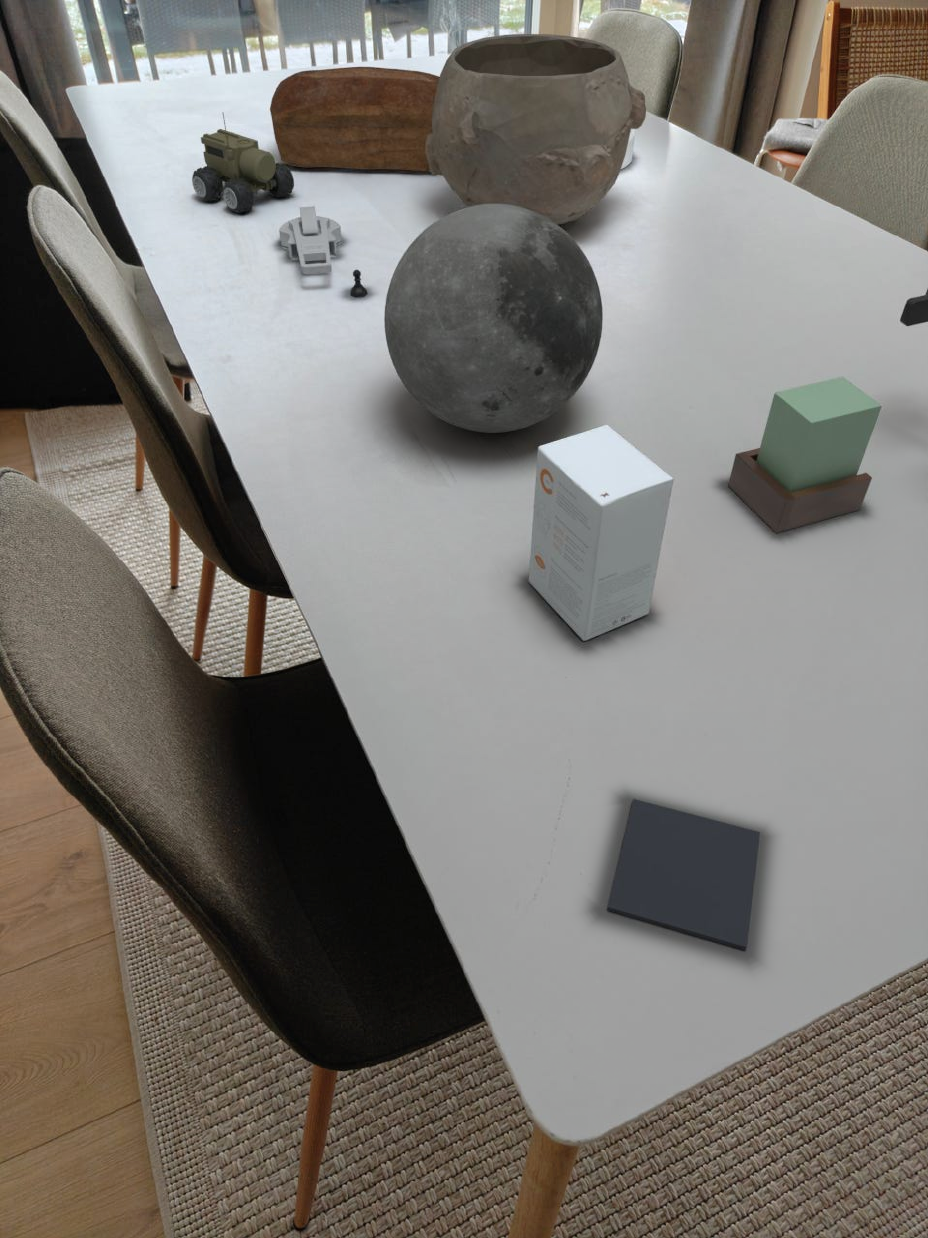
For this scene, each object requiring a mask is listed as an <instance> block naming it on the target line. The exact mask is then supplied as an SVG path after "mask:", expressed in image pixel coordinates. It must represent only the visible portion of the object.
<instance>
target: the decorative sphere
mask: <svg viewBox="0 0 928 1238" xmlns="http://www.w3.org/2000/svg"><path fill="white" fill-rule="evenodd" d="M602 302H603V301H602V295H601V290H600V286H599V283H598V279H597V276H596V274H595V271H594V269H593V267H592V265H591V263H590V261H589V259H588V257H587V256H586V254H585V252H584V251H583V250H582V248H581V247H580V246H579V244H578V243H577V241H575V240H574V239H573V237H572V236H571V235H570V234H569V233H568V232H567V231H566V230H564V229H563V228H562V227H561V226H560V225H557V224H556V223H554V222H553V221H551V220H550V219H548V218H546V217H544V216H543V215H541V214H539V213H536V212H534V211H531V210H529V209H526V208H522V207H518V206H514V205H507V204H482V205H475V206H471V207H467V206H466V207H464V208H463V207H462V208H460V209H457V210H455V211H453V212H451V213H448V214H446V215H445V216H443V217H441V218H439V219H438V220H435V221H434V222H433V223H432V224H430V225H429V226H427V227H426V228H425V229H424V230H423V231H422V232H421V233H420V234H419V235H418V236H417V237H416V238H415V239H414V240H413V241H412V242H411V243H410V244H409V246H408V247H407V249H406V250H405V251H404V252H403V255H402V256H401V258H400V259H399V261H398V263H397V265H396V266H395V269H394V272H393V274H392V276H391V279H390V282H389V285H388V289H387V293H386V297H385V305H384V316H383V318H384V319H383V320H384V335H385V341H386V346H387V351H388V354H389V357H390V360H391V363H392V365H393V367H394V370H395V371H396V374H397V375H398V377H399V379H400V381H401V383H402V384H403V386H404V387H405V388H406V390H407V391H408V392H409V393H410V395H411V396H412V397H413V399H415V400H416V402H418V403H419V404H420V405H421V406H422V407H423V408H424V409H425V410H427V411H428V412H429V413H431V414H432V415H433V416H435V417H437V418H438V419H439V420H441V421H444V423H448V425H452V426H454V427H457V428H460V429H462V430H463V429H464V430H467V431H471V432H475V433H476V432H477V433H484V434H485V433H486V434H497V433H498V434H499V433H507V432H508V433H509V432H513V431H518V430H522V429H525V428H528V427H531V426H533V425H536V424H538V423H540V422H542V421H544V420H545V419H548V418H549V417H550V416H552V415H553V414H555V413H556V412H558V411H559V410H560V409H562V408H563V406H565V405H566V404H567V403H569V401H570V400H571V399H572V398H573V397H574V395H576V393H577V392H578V391H579V389H580V388H581V386H582V385H584V382H585V380H586V379H587V377H588V376H589V374H590V372H591V370H592V368H593V366H594V363H595V360H596V358H597V355H598V353H599V352H598V351H599V350H600V349H599V348H600V344H601V340H602V339H601V338H602V334H603V333H602V332H603V320H604V319H603V317H604V316H603V315H604V314H603V303H602Z"/></svg>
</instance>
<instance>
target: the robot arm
mask: <svg viewBox="0 0 928 1238" xmlns="http://www.w3.org/2000/svg"><path fill="white" fill-rule="evenodd" d="M899 321H900V323H901V324H903V325H904V326H906V327H910V326H915V325H920V324H924V323H928V288H927V289H926V292H925V294H924V295H918V296H913V297H910V298H908V299H907V300H906V302H905V305H904V307H903V310H902V312H901V315H900V318H899Z"/></svg>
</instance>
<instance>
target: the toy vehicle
mask: <svg viewBox="0 0 928 1238" xmlns="http://www.w3.org/2000/svg"><path fill="white" fill-rule="evenodd" d="M222 117H223V124H224V129H222V128H219V129H217V131H216V132H213V133H210V134H209V133H203V134H202V136H201V137H200V142H201V144H203V146H204V151H203V153H202V154H203V159H204V162H205V165H206V166H205V165H204V166H203V167H198V168H196V170H194V171H193V174H192V177H191V181H192V187H193V189H194V192H195V193H196V195H197V196H198V198H200V199H201V200H203V201H205V202H207V203H211V202H212V201H216V200H219V198H221V197H222V195H223V199H224V202H225V204H226V205H227V207H228V208H229V209H230V210H231V211H232V212H233V213H238V214H240V215H241V214H242V213H246V212H248V211H249V210H252V209H253V206H254V204H255V195H257V194H258V191H260V190H262V191H263V192H266V191H268V192H269V194H270V195H272V196H273V197H274V198H275V197H276V198H278V199H282V197H287V196H289V194H292V193H293V190H294V187H295V179H294V175H293V173H292V171H291V169H290V168H289V167H288V166H287V165H286V164H285V163H280V162H276V158H275V157H274V155H273V154H272V153H271V152H269V151H266V150H263V149H261V148H259V147H260V146H259V140H257V139H253V138H250V137H247V136H245V135H244V136H243V135H241V134H238V133H235V132H233V131H228V130H227V127H226V126H227V125H226V121H225V114H224V113H222ZM223 183H224V185H223Z"/></svg>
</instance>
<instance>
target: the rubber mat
mask: <svg viewBox="0 0 928 1238" xmlns="http://www.w3.org/2000/svg"><path fill="white" fill-rule="evenodd" d="M759 842H760V831H758V830H755V829H750V828H746V827H743V826H739V825H735V824H732V823H727V822H723V821H719V820H715V819H713V818H712V819H711V818H709V817H705V816H701V815H697V814H693V813H690V812H685V811H681V810H679V809H678V810H677V809H674V808H670V807H667V806H662V805H659V804H655V803H651V802H647V801H643V800H639V799H635V798H633V799H632V802H631V806H630V809H629V815H628V819H627V824H626V828H625V832H624V836H623V840H622V844H621V849H620V853H619V858H618V862H617V866H616V871H615V875H614V879H613V883H612V887H611V891H610V897H609V900H608V905H607V911H609V912H613V913H616V914H619V915H623V916H627V917H629V918H633V919H636V920H640V921H643V922H647V923H649V924H654V925H656V926H661V927H664V928H667V929H670V930H674V931H678V932H681V933H684V934H687V935H691V936H695V937H698V938H702V939H705V940H708V941H712V942H715V943H719V944H722V945H726V946H729V947H732V948H736V949H740V950H743V951H746V950H747V946H748V939H749V931H750V923H751V922H750V921H751V914H752V904H753V894H754V888H755V887H754V886H755V877H756V869H757V860H758V853H759V852H758V851H759V844H760V843H759Z"/></svg>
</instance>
